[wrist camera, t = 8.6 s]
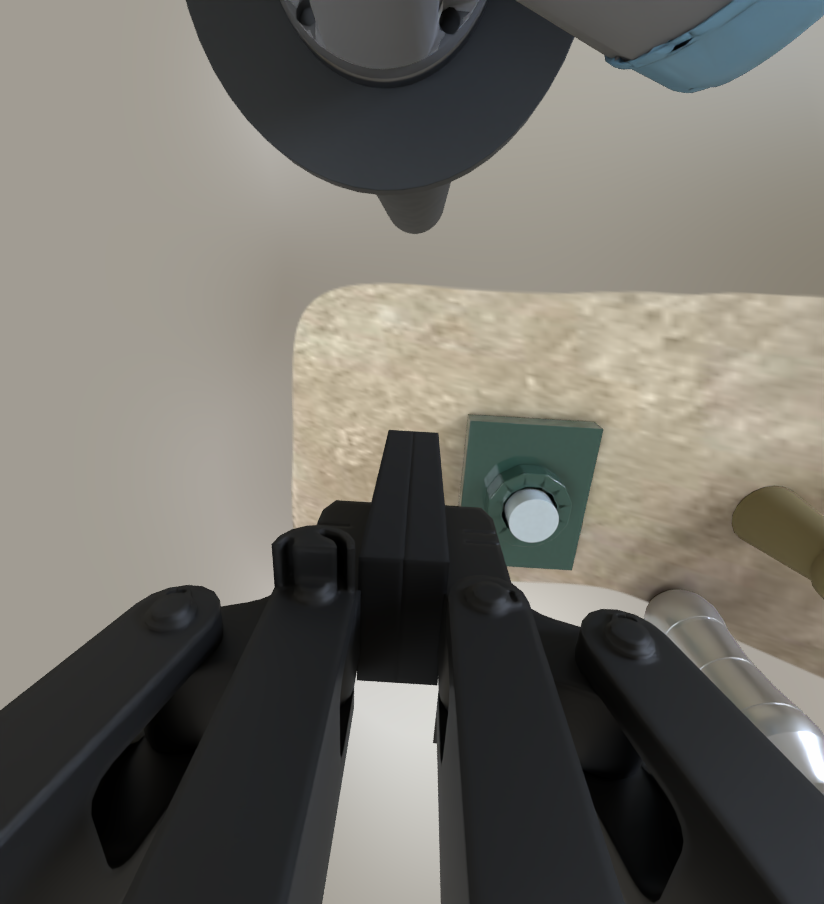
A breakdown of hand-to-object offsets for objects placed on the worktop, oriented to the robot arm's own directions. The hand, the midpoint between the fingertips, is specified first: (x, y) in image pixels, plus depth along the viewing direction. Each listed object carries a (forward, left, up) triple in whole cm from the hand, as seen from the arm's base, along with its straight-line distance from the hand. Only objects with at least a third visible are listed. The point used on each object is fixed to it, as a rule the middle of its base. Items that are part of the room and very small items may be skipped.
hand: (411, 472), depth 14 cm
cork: (+13, +33, -25) cm, 43 cm away
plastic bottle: (+24, +27, -25) cm, 44 cm away
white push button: (+12, +10, -21) cm, 26 cm away
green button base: (+12, +10, -24) cm, 29 cm away
